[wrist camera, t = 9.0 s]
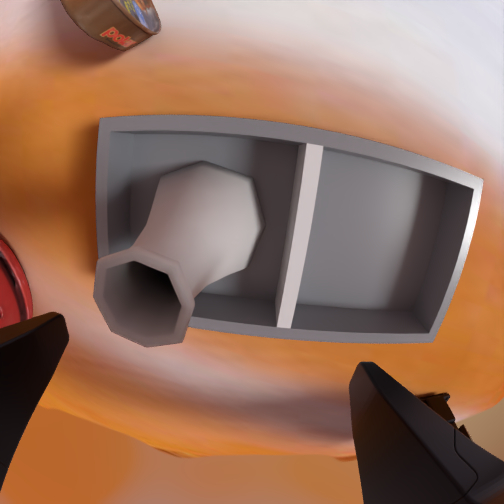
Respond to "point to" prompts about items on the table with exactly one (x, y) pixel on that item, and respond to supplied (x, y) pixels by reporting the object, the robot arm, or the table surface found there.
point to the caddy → (305, 225)
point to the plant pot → (13, 290)
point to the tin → (115, 20)
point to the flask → (179, 253)
